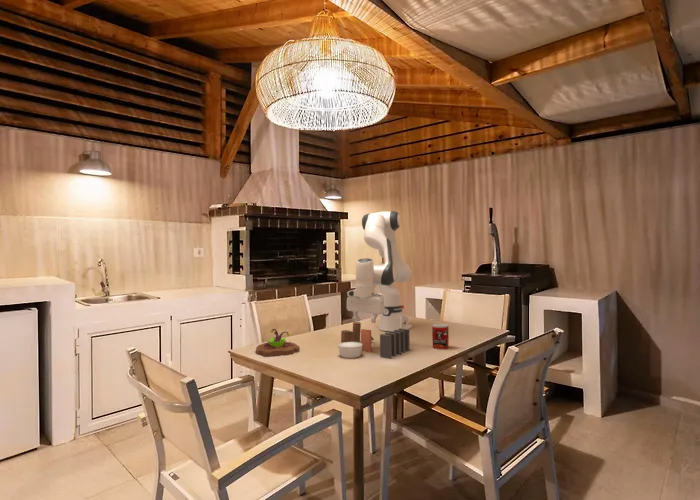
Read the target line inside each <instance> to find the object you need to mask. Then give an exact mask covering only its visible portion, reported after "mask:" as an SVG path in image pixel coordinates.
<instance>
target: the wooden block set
mask: <svg viewBox="0 0 700 500" xmlns="http://www.w3.org/2000/svg"><path fill="white" fill-rule="evenodd" d="M361 325H362V323H361V322H360V321H353V322H352V330H350V329H349V330H347V329H343V330H341V331H340V333H341V334H340V335H341V336H340V343H344V342H359V343H361V330H362V329H361V327H362V326H361ZM373 341H375V339H374V337H373V336H372V335H371V342H373Z"/></svg>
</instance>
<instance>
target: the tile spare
mask: <svg viewBox="0 0 700 500" xmlns="http://www.w3.org/2000/svg"><path fill="white" fill-rule="evenodd" d="M371 336H372V330H371V329H364V328H363V329H360V343H362V344H363V346H362V351H361V352H369V353H370V352H372V351H373V349H372V345H373V344H372V341H371Z"/></svg>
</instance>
